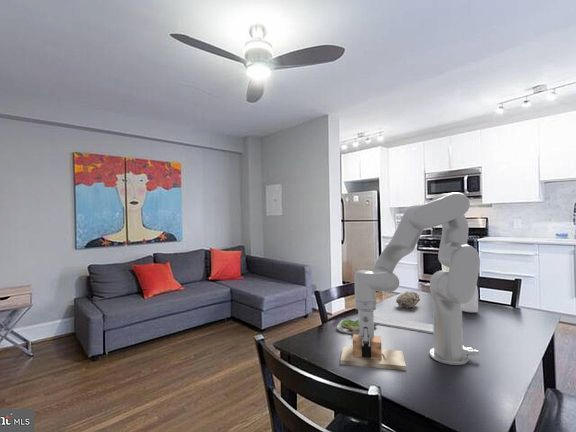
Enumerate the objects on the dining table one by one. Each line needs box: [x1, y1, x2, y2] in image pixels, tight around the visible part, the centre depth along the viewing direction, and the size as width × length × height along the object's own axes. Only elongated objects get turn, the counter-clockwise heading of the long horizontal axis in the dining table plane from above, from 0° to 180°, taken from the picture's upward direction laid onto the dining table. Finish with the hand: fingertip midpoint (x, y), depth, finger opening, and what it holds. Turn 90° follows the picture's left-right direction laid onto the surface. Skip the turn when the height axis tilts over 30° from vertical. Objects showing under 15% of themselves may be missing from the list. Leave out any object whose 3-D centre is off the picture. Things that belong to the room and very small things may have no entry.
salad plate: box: [336, 317, 379, 336], centre depth 143 cm, size 19×18×5 cm
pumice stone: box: [395, 291, 421, 309], centre depth 176 cm, size 14×12×8 cm
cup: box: [461, 285, 479, 313], centre depth 163 cm, size 8×8×14 cm
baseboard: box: [374, 315, 434, 335], centre depth 149 cm, size 31×3×12 cm
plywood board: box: [340, 345, 407, 371], centre depth 113 cm, size 22×12×2 cm, turn 75°
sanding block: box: [352, 334, 382, 359], centre depth 114 cm, size 10×6×6 cm, turn 76°
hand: (366, 352), depth 114 cm, fingers closed on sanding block, 6 cm apart
